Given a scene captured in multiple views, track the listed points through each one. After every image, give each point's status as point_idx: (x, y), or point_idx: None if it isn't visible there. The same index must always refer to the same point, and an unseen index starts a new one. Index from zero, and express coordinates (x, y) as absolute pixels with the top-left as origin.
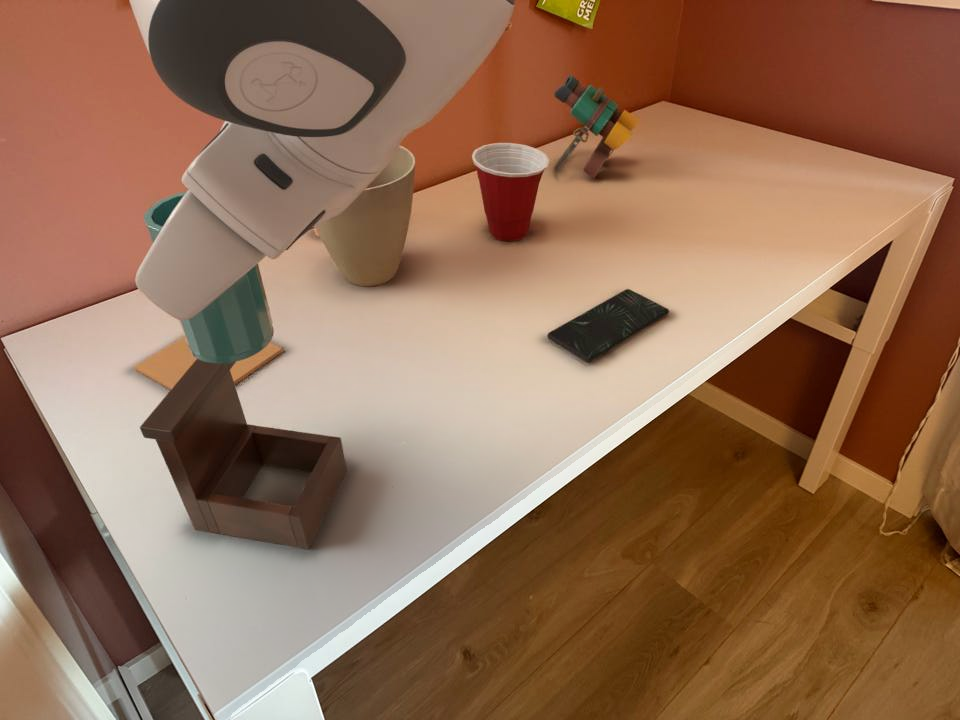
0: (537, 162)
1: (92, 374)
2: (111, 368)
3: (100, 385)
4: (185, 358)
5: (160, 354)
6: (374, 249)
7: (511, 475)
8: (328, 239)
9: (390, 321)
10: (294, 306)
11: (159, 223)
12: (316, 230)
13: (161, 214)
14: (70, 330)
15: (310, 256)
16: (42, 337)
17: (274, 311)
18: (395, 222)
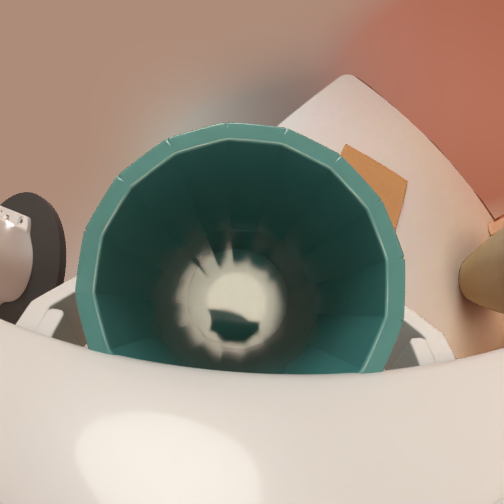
0: None
1: (333, 122)
2: (341, 130)
3: (325, 130)
4: (363, 174)
5: (362, 156)
6: (481, 294)
7: None
8: (482, 253)
9: (430, 318)
10: (432, 234)
11: (231, 166)
12: (491, 224)
13: (253, 158)
14: (364, 98)
15: (474, 227)
16: (353, 86)
17: (424, 221)
18: (501, 309)
